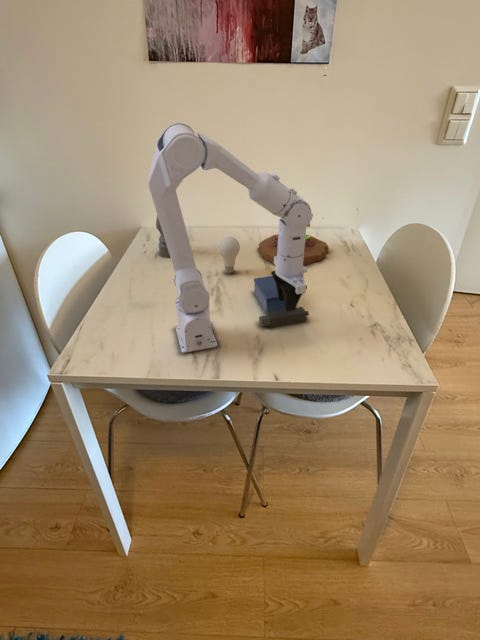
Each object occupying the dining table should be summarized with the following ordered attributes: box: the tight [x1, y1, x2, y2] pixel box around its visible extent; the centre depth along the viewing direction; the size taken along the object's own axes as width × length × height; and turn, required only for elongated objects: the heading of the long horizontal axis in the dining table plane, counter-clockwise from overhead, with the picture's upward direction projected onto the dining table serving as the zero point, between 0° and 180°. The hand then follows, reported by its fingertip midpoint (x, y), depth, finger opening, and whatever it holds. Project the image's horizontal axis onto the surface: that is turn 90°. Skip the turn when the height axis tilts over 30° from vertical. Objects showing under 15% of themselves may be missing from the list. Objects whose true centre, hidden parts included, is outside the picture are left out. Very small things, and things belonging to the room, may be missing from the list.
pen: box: [258, 306, 310, 328], centre depth 97 cm, size 12×3×3 cm, turn 106°
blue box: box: [253, 275, 286, 315], centre depth 105 cm, size 10×7×4 cm
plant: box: [258, 222, 329, 266], centre depth 125 cm, size 20×20×11 cm
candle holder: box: [155, 214, 170, 258], centre depth 122 cm, size 6×6×25 cm
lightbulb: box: [217, 235, 241, 274], centre depth 115 cm, size 6×6×11 cm
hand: (286, 304), depth 96 cm, fingers open, 4 cm apart
